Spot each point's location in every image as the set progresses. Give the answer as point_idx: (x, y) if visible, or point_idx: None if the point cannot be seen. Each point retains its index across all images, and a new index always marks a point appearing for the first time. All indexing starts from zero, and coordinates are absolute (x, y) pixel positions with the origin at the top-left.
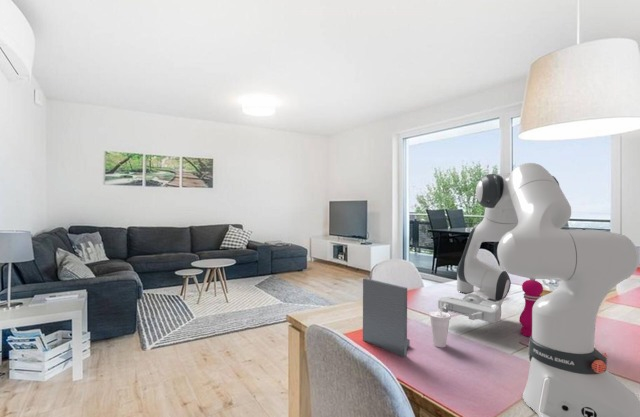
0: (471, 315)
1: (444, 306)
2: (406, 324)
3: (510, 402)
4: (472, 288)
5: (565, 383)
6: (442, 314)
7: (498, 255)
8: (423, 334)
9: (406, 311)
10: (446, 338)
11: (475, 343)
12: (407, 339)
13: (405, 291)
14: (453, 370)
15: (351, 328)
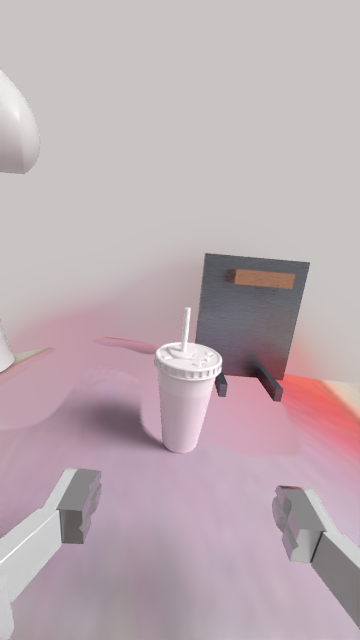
0: (80, 470)
1: (319, 513)
2: (198, 320)
3: (36, 356)
4: None
5: None
6: (179, 351)
7: (39, 147)
8: (266, 476)
9: (200, 297)
10: (161, 418)
11: (62, 561)
12: (223, 382)
13: (204, 259)
14: (114, 374)
15: (350, 395)
